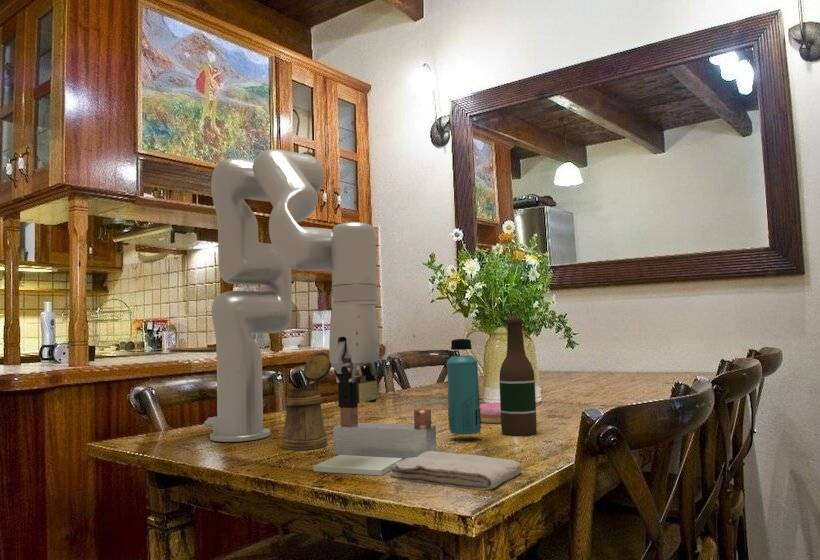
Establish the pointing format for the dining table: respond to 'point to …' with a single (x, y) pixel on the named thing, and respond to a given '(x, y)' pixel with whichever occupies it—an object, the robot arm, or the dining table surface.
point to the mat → (357, 465)
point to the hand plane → (384, 436)
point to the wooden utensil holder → (306, 409)
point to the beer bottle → (517, 385)
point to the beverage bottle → (463, 391)
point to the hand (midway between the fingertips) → (358, 403)
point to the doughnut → (490, 413)
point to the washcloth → (456, 470)
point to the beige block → (365, 389)
